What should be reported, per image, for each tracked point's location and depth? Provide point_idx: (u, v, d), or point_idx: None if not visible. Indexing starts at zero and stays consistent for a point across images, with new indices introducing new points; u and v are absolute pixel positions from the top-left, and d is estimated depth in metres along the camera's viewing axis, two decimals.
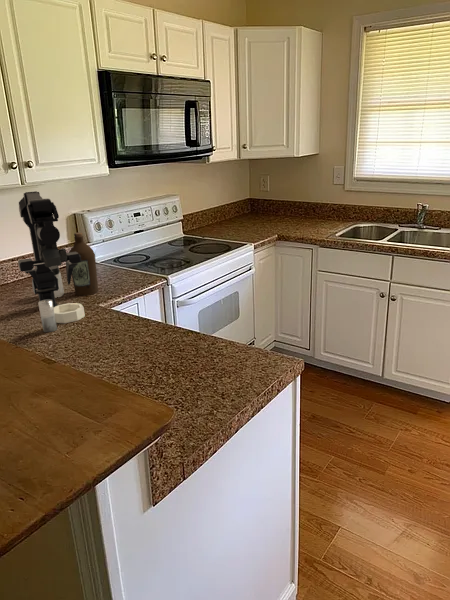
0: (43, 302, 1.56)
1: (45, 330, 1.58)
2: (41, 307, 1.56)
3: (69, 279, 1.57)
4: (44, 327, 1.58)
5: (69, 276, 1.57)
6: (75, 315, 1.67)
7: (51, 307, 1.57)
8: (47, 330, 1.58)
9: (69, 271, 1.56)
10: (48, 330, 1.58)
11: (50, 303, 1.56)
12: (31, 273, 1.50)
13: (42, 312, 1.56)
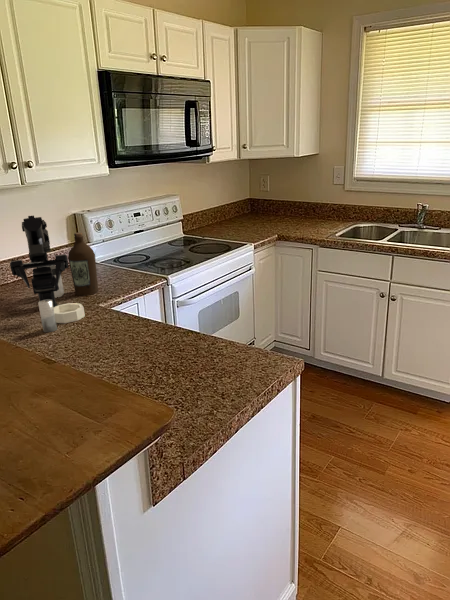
0: (43, 302, 1.56)
1: (45, 330, 1.58)
2: (41, 307, 1.56)
3: (57, 277, 1.65)
4: (44, 327, 1.58)
5: (57, 274, 1.65)
6: (75, 315, 1.67)
7: (51, 307, 1.57)
8: (47, 330, 1.58)
9: (56, 270, 1.66)
10: (48, 330, 1.58)
11: (50, 303, 1.56)
12: (20, 269, 1.62)
13: (42, 312, 1.56)
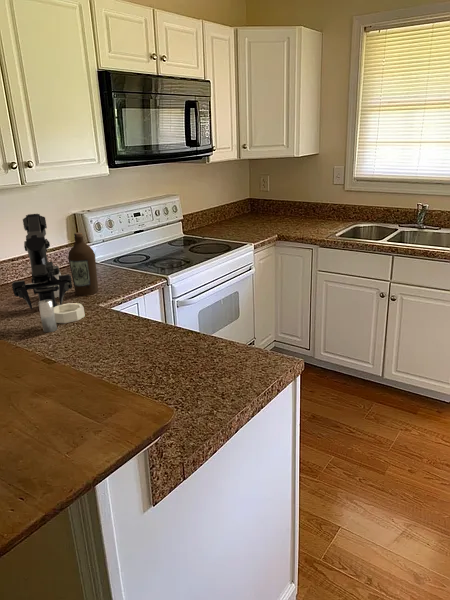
0: (43, 302, 1.56)
1: (45, 330, 1.58)
2: (41, 307, 1.56)
3: (60, 298, 1.60)
4: (44, 327, 1.58)
5: (60, 295, 1.60)
6: (75, 315, 1.67)
7: (51, 307, 1.57)
8: (47, 330, 1.58)
9: (60, 290, 1.61)
10: (48, 330, 1.58)
11: (50, 303, 1.56)
12: (22, 290, 1.57)
13: (42, 312, 1.56)
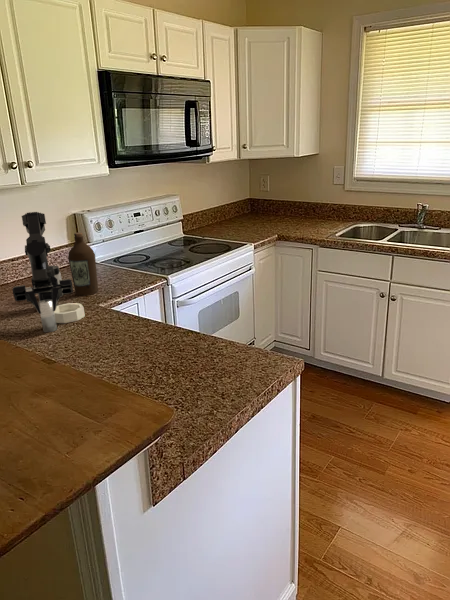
0: (43, 302, 1.56)
1: (45, 330, 1.58)
2: (41, 307, 1.56)
3: (54, 304, 1.59)
4: (44, 327, 1.58)
5: (54, 301, 1.59)
6: (75, 315, 1.67)
7: (51, 307, 1.57)
8: (47, 330, 1.58)
9: (54, 296, 1.59)
10: (48, 330, 1.58)
11: (50, 303, 1.56)
12: (30, 294, 1.57)
13: (42, 312, 1.56)
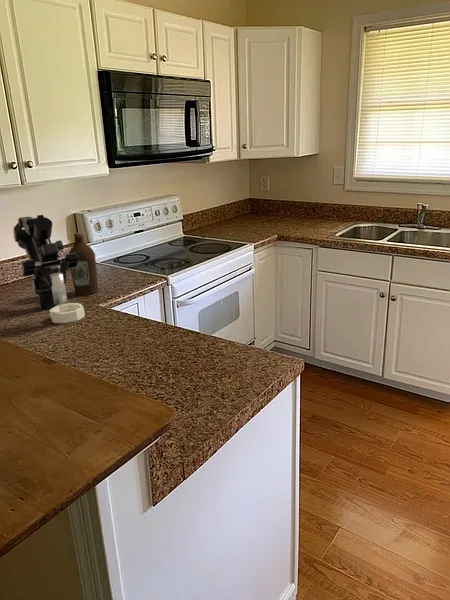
0: (55, 275, 1.62)
1: (57, 302, 1.64)
2: (54, 280, 1.61)
3: (64, 277, 1.64)
4: (56, 299, 1.63)
5: (64, 274, 1.65)
6: (75, 315, 1.67)
7: (63, 280, 1.63)
8: (59, 302, 1.64)
9: (63, 269, 1.65)
10: (60, 302, 1.64)
11: (62, 275, 1.62)
12: (40, 268, 1.61)
13: (54, 284, 1.61)
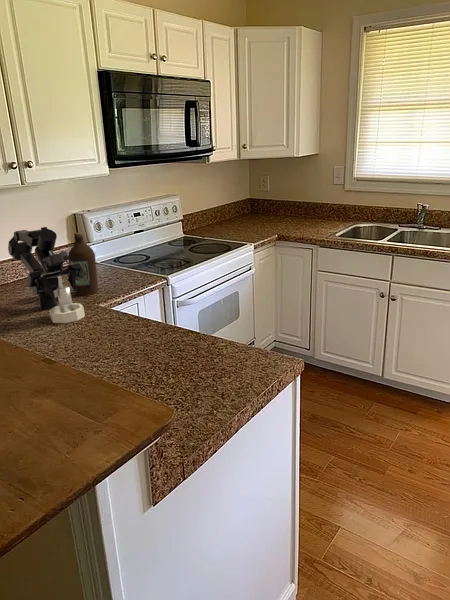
0: (62, 288, 1.67)
1: None
2: (61, 293, 1.66)
3: (74, 285, 1.70)
4: (64, 312, 1.68)
5: (74, 282, 1.71)
6: (75, 315, 1.67)
7: (70, 293, 1.68)
8: None
9: (72, 278, 1.71)
10: None
11: (69, 289, 1.68)
12: (42, 279, 1.64)
13: (62, 298, 1.67)
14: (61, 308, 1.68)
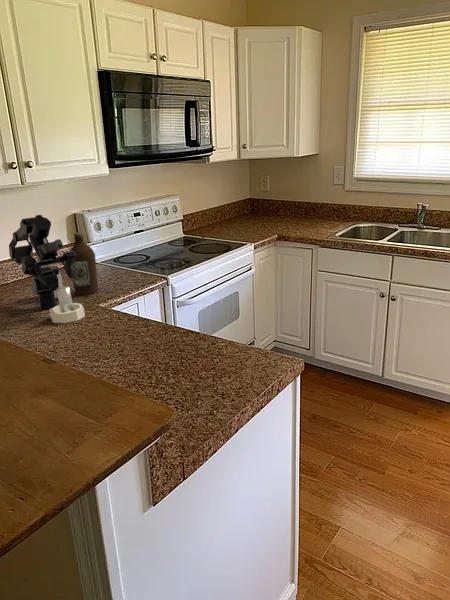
0: (62, 288, 1.67)
1: None
2: (61, 293, 1.66)
3: (70, 273, 1.73)
4: (64, 312, 1.68)
5: (69, 270, 1.73)
6: (75, 315, 1.67)
7: (70, 293, 1.68)
8: None
9: (68, 265, 1.73)
10: None
11: (69, 289, 1.68)
12: (35, 267, 1.66)
13: (62, 298, 1.67)
14: (61, 308, 1.68)
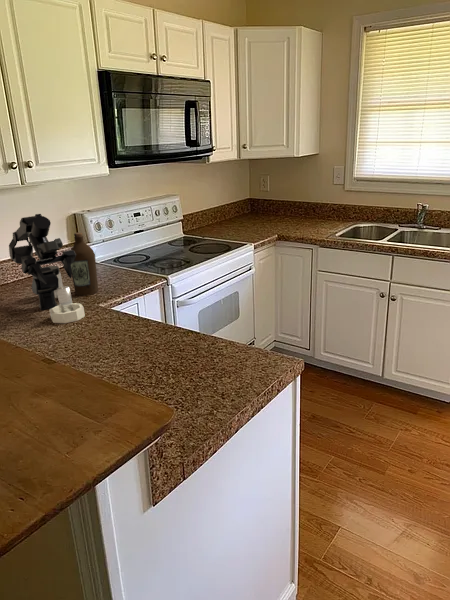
0: (62, 288, 1.67)
1: None
2: (61, 293, 1.66)
3: (70, 272, 1.73)
4: (64, 312, 1.68)
5: (69, 269, 1.73)
6: (75, 315, 1.67)
7: (70, 293, 1.68)
8: None
9: (68, 264, 1.73)
10: None
11: (69, 289, 1.68)
12: (35, 266, 1.66)
13: (62, 298, 1.67)
14: (61, 308, 1.68)
